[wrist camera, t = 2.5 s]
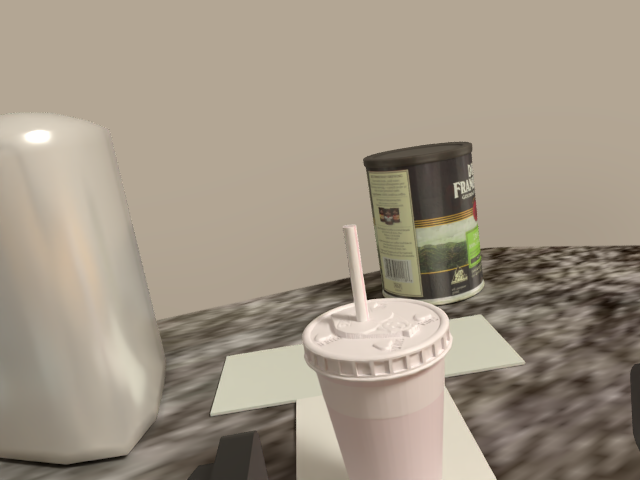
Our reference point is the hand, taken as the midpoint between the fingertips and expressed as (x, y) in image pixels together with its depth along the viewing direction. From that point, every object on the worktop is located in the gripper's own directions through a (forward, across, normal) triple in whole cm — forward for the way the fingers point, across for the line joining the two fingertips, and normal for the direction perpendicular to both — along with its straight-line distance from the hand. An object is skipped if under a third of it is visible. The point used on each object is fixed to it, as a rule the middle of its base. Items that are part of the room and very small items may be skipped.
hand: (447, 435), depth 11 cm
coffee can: (+42, -9, +12) cm, 44 cm away
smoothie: (+12, 0, +12) cm, 16 cm away
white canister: (+26, +20, +12) cm, 35 cm away
